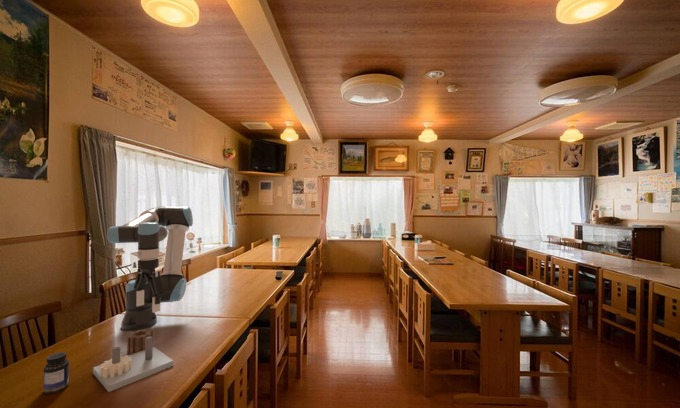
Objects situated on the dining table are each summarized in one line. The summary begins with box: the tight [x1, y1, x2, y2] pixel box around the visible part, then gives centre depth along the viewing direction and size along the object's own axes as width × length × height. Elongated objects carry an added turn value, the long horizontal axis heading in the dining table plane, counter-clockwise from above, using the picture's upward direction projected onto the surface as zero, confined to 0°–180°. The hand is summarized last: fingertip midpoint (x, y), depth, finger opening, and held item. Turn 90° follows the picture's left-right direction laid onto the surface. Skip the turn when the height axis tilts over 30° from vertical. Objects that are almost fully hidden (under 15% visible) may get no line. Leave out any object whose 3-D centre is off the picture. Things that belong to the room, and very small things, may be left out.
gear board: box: [92, 336, 174, 393], centre depth 109 cm, size 18×20×10 cm
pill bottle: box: [43, 351, 70, 395], centre depth 98 cm, size 6×6×11 cm
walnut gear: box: [126, 328, 154, 356], centre depth 124 cm, size 9×9×7 cm
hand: (148, 308), depth 125 cm, fingers open, 13 cm apart
